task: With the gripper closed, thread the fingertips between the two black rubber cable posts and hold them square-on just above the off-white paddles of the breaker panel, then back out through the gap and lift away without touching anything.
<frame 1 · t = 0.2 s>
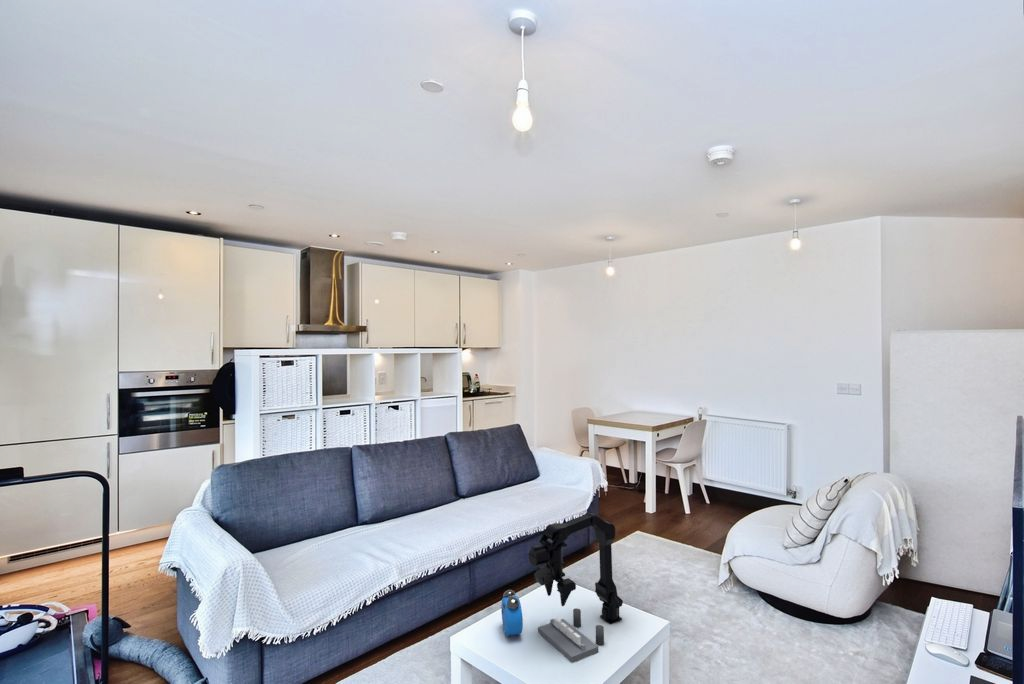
hand: (556, 600, 186), 14 cm above the table, fingers open, 9 cm apart
breaker panel: (567, 641, 183), on the table
alarm clock: (511, 633, 190), on the table
cable post 1: (577, 625, 194), on the table
cable post 2: (599, 643, 182), on the table
breaker paddles: (567, 631, 183), point 4 cm above the table, hinge at 0.0°
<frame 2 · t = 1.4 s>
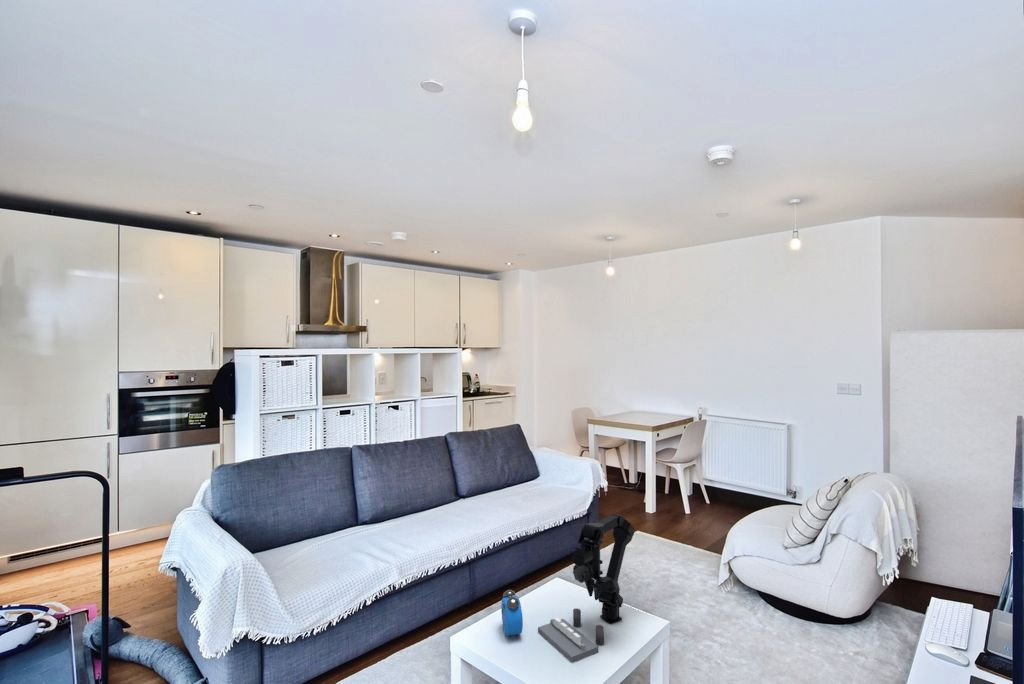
hand: (593, 598, 190), 13 cm above the table, fingers open, 3 cm apart
nothing on the table moved.
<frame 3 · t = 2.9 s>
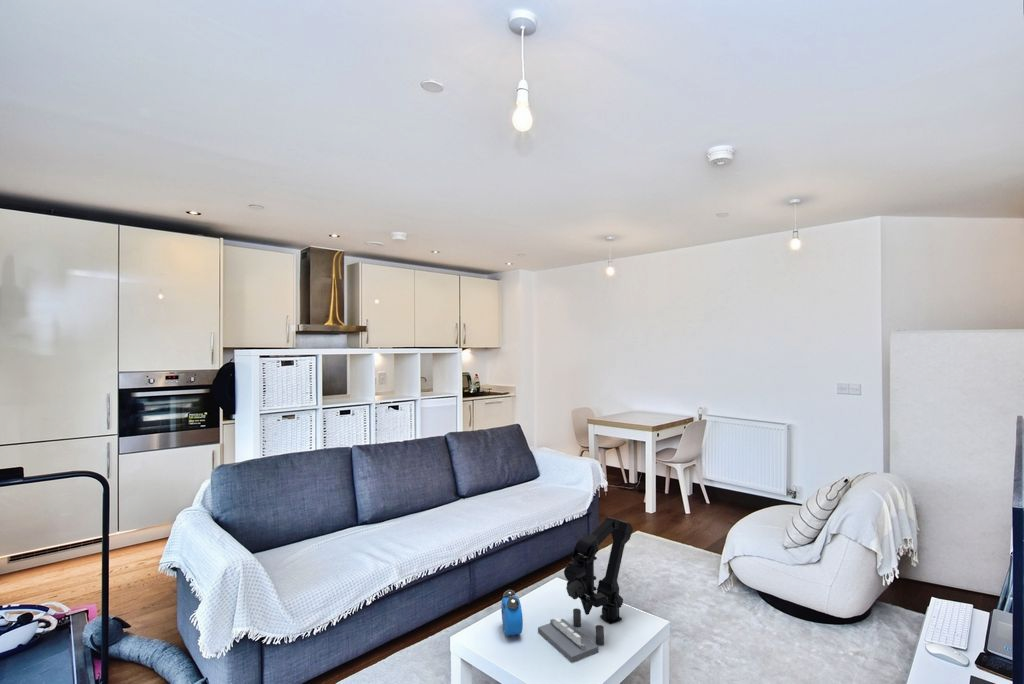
hand: (587, 614, 188), 8 cm above the table, fingers closed
nothing on the table moved.
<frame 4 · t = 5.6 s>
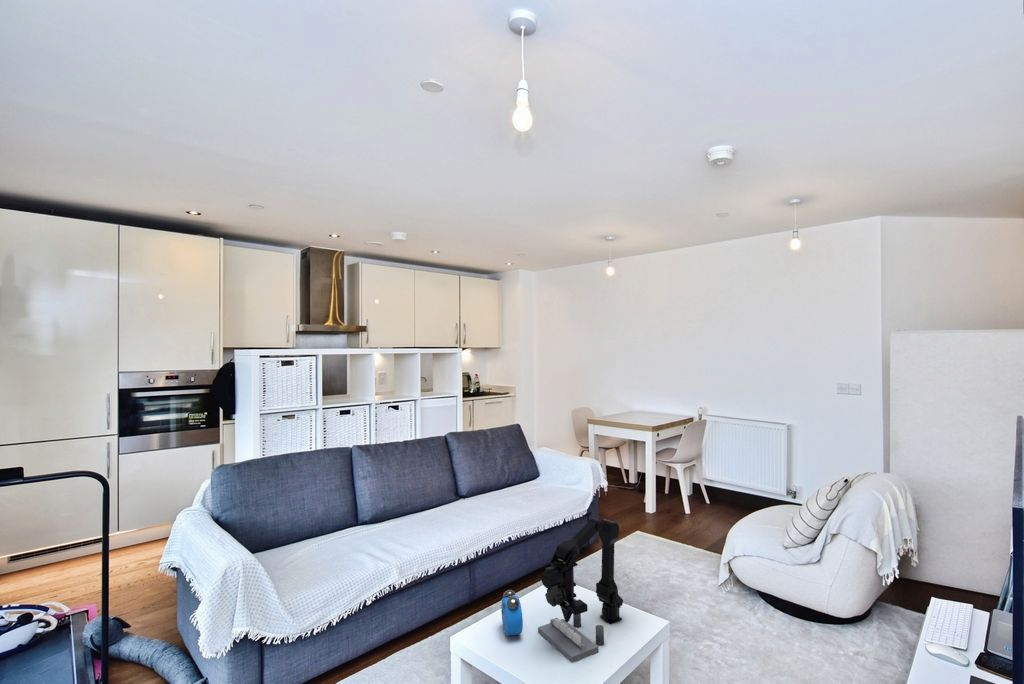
hand: (566, 621, 183), 7 cm above the table, fingers closed
nothing on the table moved.
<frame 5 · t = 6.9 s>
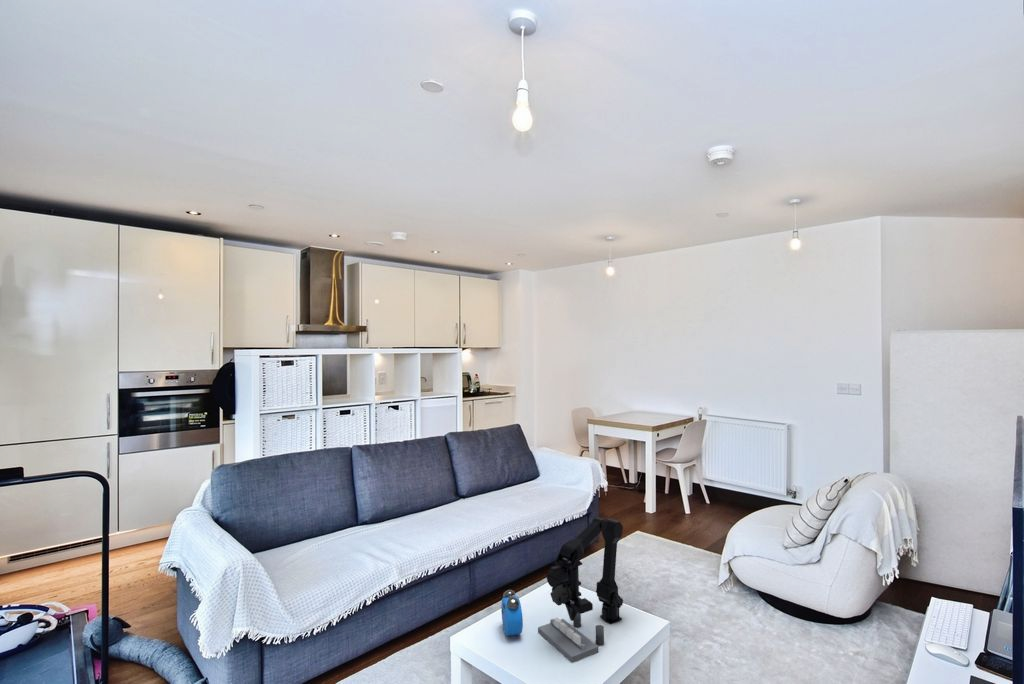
hand: (572, 620, 185), 7 cm above the table, fingers closed
nothing on the table moved.
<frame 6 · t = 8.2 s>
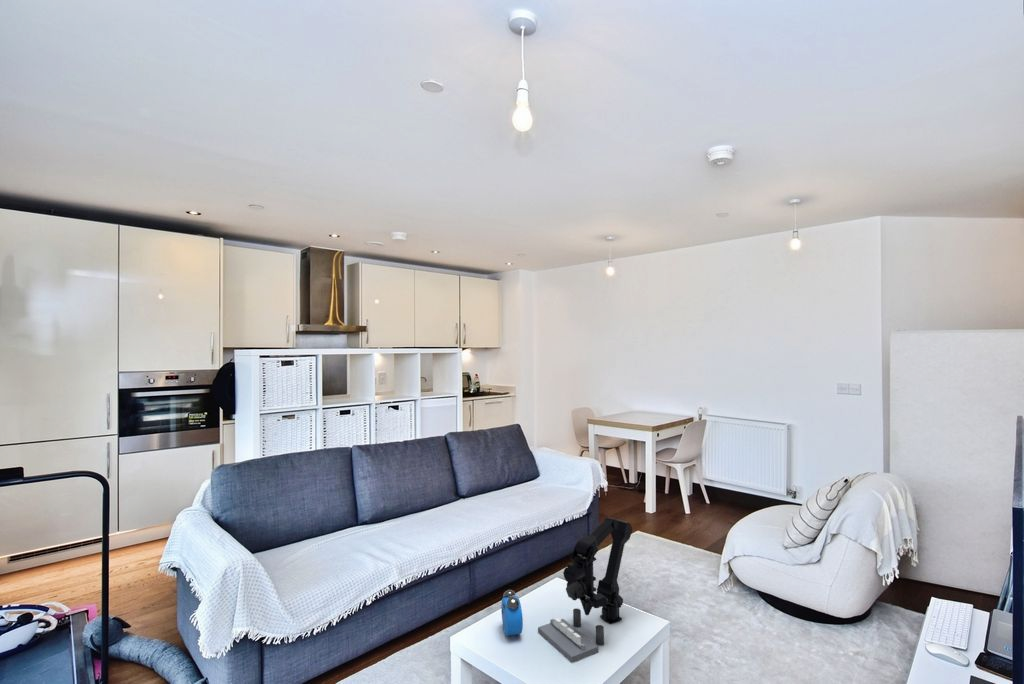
hand: (587, 615, 188), 7 cm above the table, fingers closed
nothing on the table moved.
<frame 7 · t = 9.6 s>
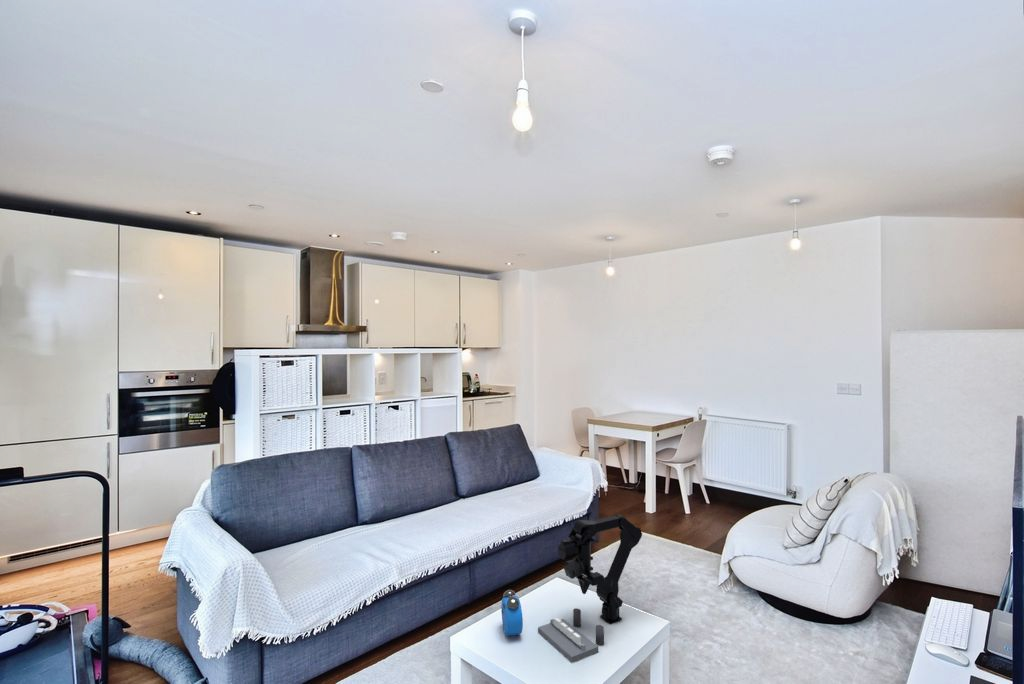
hand: (584, 593, 194), 13 cm above the table, fingers closed
nothing on the table moved.
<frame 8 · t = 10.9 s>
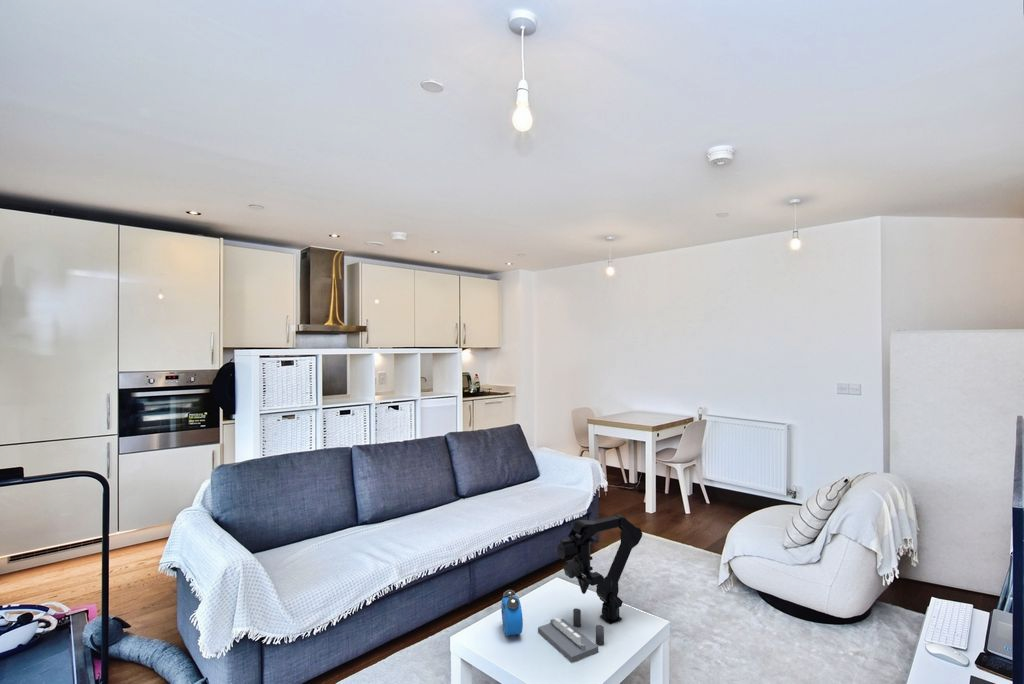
hand: (583, 593, 194), 13 cm above the table, fingers closed
nothing on the table moved.
at the end: breaker paddles at +0° (first picture: +0°); cable post 1 moved 0.0 cm from its start; cable post 2 moved 0.0 cm from its start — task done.
